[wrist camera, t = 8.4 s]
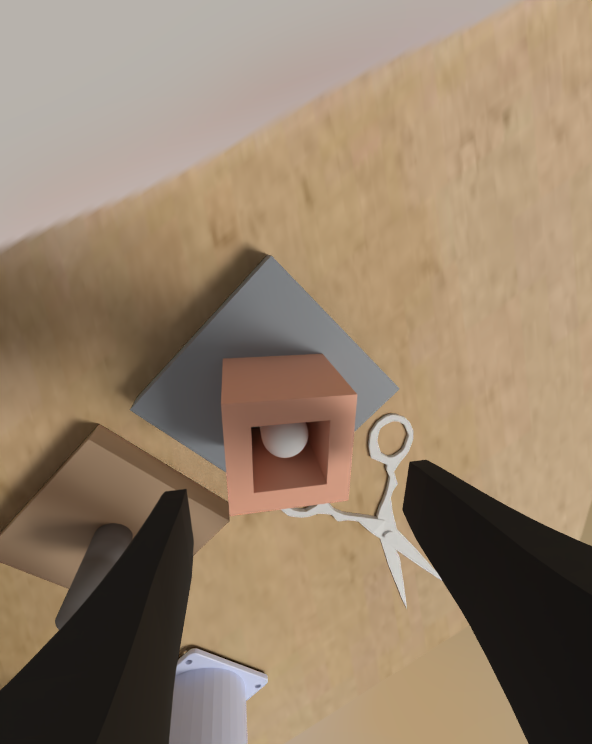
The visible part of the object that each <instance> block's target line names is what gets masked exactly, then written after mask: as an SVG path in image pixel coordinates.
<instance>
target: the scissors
mask: <svg viewBox="0 0 592 744" xmlns="http://www.w3.org/2000/svg"><path fill="white" fill-rule="evenodd" d="M392 421H398V422H401V423H402V424H403V425H404V426H405V429H406V431H407V437H406V440H405V442H404V445H403V447H402V448H401V450H399V451H398V452H396V453H395V454H393V455H388V456H387V455H385V454H383V453H382V452H380V449H379V445H378V442H377V439H378V434H379V430H380V429H381V427H383V426H384V425H386V424H388V423H390V422H392ZM412 441H413V429H412V427H411V424H410V422H409V421H408V420H407V419H406V418H405V417H404V416H401V415H398V414H392V413H390V414H387V415H384V416H383V417H381V418H380V419H379V420H377V421H376V423H375V424H374V426H373V427H372V429H371V430H370V432H369V441H368V448H369V453H370V457H371V458H373V459H375V460H377V461H380V462H382V463H384V464H386V466H385V468H386V470H387V473H388V475H389V477H388V482H387V486H386V490H385V493H384V496H383V498H382V500H381V502H380V504H379V507H378V510H377V513H376V516H371V515H364V514H357V513H348V512H343V511H340V510H337V509H335V508H333V507H332V506H331V505H330V503H326V504H318V505H311V506H309V507H307V508H305V509H304V508H288V509H281V510H282V511H283V512H284V513H286V514H287V515H288V516H293V517H309V516H312V515H315V514H332V515H333V517H334V518H335V519H336V520H337V521H344V520H352V521H359V522H360V523H361V524H362V525H363V526H364V527H365V528H366V529H367V530H369V531H370V532H371V533H372V534H374V535H375V536H377V537H379V538H380V540H381V543H382V546H383V549H384V552H385V556H386V559H387V562H388V565H389V567H390V570H391V573H392V575H393V577H394V580H395V582H396V585H397V587H398V590H399V592H400V595H401V598H402V600H403V602H404V604H405V606H406V608H407V605H406V598H405V590H404V583H403V577H402V571H401V563H400V558H399V555H398V553H397V551H399V552H400V553H402V554H403V555H405V556H406V557H407V558H409V559H410V560H412V561H413V562H415V563H416V564H417V565H419V566H420V567H422V568H424V569H425V570H427V571H428V572H430V573H431V574H433V575H434V576H436V577H437V578H439V579H440V580H442V579H441V578H440V576H439V575H438V573H437V572H436V571H435V570H434V569H433V567H432V566H431V565H430V564H429V563H428V562H427V561H426V559H425V558H424V557H423V556H422V555H421V554H420V553H419V552H418V550H417V549H416V548H415V547H414V546H413V545H412V544H411V543H410V542H409V541H408V540H407V539H406V538H405V537H404V536H403V535H402V534H401V533H400V532H399V531H398V530H397V529H396V523H395V520H394V516H393V511H392V503H391V495H392V492H393V490H394V489H395V487H396V486H397V484H398V483H397V480H396V477H395V474H394V471H395V469H396V468H397V466H398V465H399V463H400V462H401V460H402V459H403V458H404V457H405V456H406V455H407V453H408V451H409V449H410V446H411V444H412ZM396 550H397V551H396Z"/></svg>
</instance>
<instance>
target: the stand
mask: <svg viewBox="0 0 592 744" xmlns="http://www.w3.org/2000/svg"><path fill="white" fill-rule="evenodd" d="M181 489H187V495H188V502H189V509H190V517H191V524H192V531H193V538H194V548H193V556H194V555H195V554H196V553H197V552H198V551H199V550H200V549H201V548H202V547H203V546H204V545H205V544H206V543H207V542H208V541H209V540H210V539H211V538H212V537H213V536H214V535H215V534H217V533H218V532H219V531H220V530H221V529H222V528H223V527H224V526H225V525H226V524H227V523H228V522H229V503H228V502H227V501H225V500H223V499H222V498H220V497H219V496H217V495H215V494H214V493H212V492H210V491H209V490H207V489H205V488H204V487H202V486H200V485H199V484H197V483H195V482H194V481H192V480H191V479H189V478H187V477H186V476H184V475H182V474H181V473H179V472H177V471H176V470H174V469H172V468H171V467H169V466H167V465H166V464H164V463H163V462H161V461H159V460H158V459H156V458H154V457H153V456H151V455H149V454H148V453H146V452H144V451H143V450H141V449H139V448H138V447H136V446H135V445H133V444H131V443H130V442H128V441H126V440H125V439H123V438H121V437H120V436H118V435H116V434H115V433H113V432H111V431H110V430H108V429H107V428H105V427H103V426H102V425H100V424H99V425H98V426H97V427H96V428H95V429H94V430H93V432H92V433H91V434H90V435H89V436H88V437H87V438H86V439H85V440H84V441H83V443H82V444H81V445H80V446H79V447H78V448H77V449H76V450H75V451H74V452H73V454H72V455H71V456H70V457H69V458H68V459H67V460H66V461H65V462H64V464H63V465H62V466H61V467H60V468H59V469H58V470H57V471H56V472H55V473H54V475H53V476H52V477H51V478H50V479H49V480H48V481H47V482H46V483H45V484H44V486H43V487H42V488H41V489H40V490H39V491H38V492H37V493H36V494H35V495H34V497H33V498H32V499H31V500H30V501H29V502H28V503H27V504H26V505H25V506H24V508H23V509H22V510H21V511H20V512H19V513H18V514H17V515H16V516H15V517H14V519H13V520H12V521H11V522H10V523H9V524H8V525H7V526H6V527H5V529H4V530H3V531H2V532H1V533H0V562H1V563H3V564H6V565H8V566H11V567H14V568H16V569H19V570H21V571H24V572H26V573H29V574H32V575H34V576H37V577H39V578H42V579H45V580H47V581H50V582H52V583H55V584H57V585H60V586H63V587H65V588H68V589H69V590H68V593H67V595H66V597H65V599H64V601H63V604H62V606H61V608H60V610H59V612H58V615H57V617H56V620H55V624H56V626H57V628H58V629H59V630H60V629H61V628H62V627H63V626H64V624H65V623H66V622H67V621H68V620H69V619H70V618H71V617H72V615H73V614H74V613H75V612H76V611H77V610H78V609H79V607H80V606H81V605H82V604H83V603H84V602H85V600H86V599H87V598H88V597H89V596H90V594H91V593H92V592H93V591H94V590H95V588H96V587H97V586H98V585H99V583H100V582H101V581H102V580H103V578H104V577H105V576H106V574H107V573H108V572H109V571H110V569H111V568H112V567H113V566H114V564H115V563H116V562H117V560H118V559H119V558H120V556H121V555H122V554H123V552H124V551H125V550H126V548H127V547H128V545H129V544H130V542H131V541H132V540H133V538H134V537H135V535H136V534H137V533H138V531H139V530H140V528H141V527H142V525H143V524H144V522H145V521H146V519H147V518H148V516H149V515H150V513H151V512H152V510H153V508H154V507H155V505H156V504H157V502H158V500H159V499H160V497H161V495H162V494H163V493H164V492H165V491H173V490H181Z"/></svg>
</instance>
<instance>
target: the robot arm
mask: <svg viewBox="0 0 592 744" xmlns="http://www.w3.org/2000/svg"><path fill="white" fill-rule="evenodd" d="M402 510H403V512H404V515H405V517H406V519H407V521H408V523H409V526H410V528H411V530H412V532H413V534H414V536H415V538H416V540H417V541H418V543H419V545H420V546H421V548H422V549H423V551H424V553H425V554H426V556H427V557H428V559H429V561H430V562H431V564H432V565H433V567H434V568H435V570H436V572H437V573H438V575H439V576H440V578H441V579H442V581H443V582H444V584H445V586H446V587H447V589H448V590H449V592H450V593H451V595H452V597H453V598H454V600H455V601H456V603H457V604H458V606H459V608H460V609H461V611H462V613H463V614H464V616H465V618H466V619H467V621H468V623H469V624H470V626H471V628H472V630H473V632H474V634H475V636H476V638H477V640H478V642H479V643H480V645H481V647H482V649H483V651H484V653H485V655H486V657H487V659H488V660H489V663H490V665H491V667H492V669H493V671H494V673H495V675H496V677H497V679H498V681H499V682H500V685H501V687H502V689H503V691H504V693H505V695H506V697H507V699H508V701H509V703H510V705H511V707H512V709H513V711H514V713H515V716H516V718H517V719H518V722H519V724H520V726H521V728H522V730H523V733H524V735H525V737H526V739H527V741H528V743H529V744H592V546H590V545H587V544H585V543H583V542H580V541H578V540H576V539H573V538H571V537H569V536H567V535H565V534H563V533H560V532H558V531H556V530H554V529H552V528H550V527H547V526H545V525H543V524H541V523H539V522H537V521H535V520H533V519H531V518H529V517H527V516H525V515H523V514H521V513H520V512H518V511H516V510H514V509H512V508H510V507H508V506H506V505H505V504H503V503H501V502H499V501H497V500H495V499H494V498H492V497H490V496H488V495H487V494H485V493H483V492H481V491H480V490H478V489H476V488H475V487H473V486H471V485H470V484H468V483H466V482H464V481H463V480H461V479H459V478H458V477H456V476H454V475H453V474H451V473H449V472H447V471H446V470H444V469H442V468H441V467H439V466H437V465H435V464H433V463H431V462H429V461H428V460H421V461H413V462H410V463H409V469H408V476H407V483H406V489H405V496H404V503H403V509H402ZM193 548H194V538H193V531H192V524H191V517H190V509H189V502H188V495H187V489H181V490H173V491H165V492H164V493H163V494H162V495H161V497H160V499H159V500H158V502H157V504H156V505H155V507H154V508H153V510H152V512H151V513H150V515H149V516H148V518H147V519H146V521H145V522H144V524H143V525H142V527H141V528H140V530H139V531H138V533H137V534H136V535H135V537H134V538H133V540H132V541H131V542H130V544H129V545H128V547H127V548H126V550H125V551H124V552H123V554H122V555H121V556H120V558H119V559H118V560H117V562H116V563H115V564H114V566H113V567H112V568H111V569H110V571H109V572H108V573H107V574H106V576H105V577H104V578H103V580H102V581H101V582H100V583H99V585H98V586H97V587H96V588H95V590H94V591H93V592H92V593H91V594H90V596H89V597H88V598H87V599H86V600H85V602H84V603H83V604H82V605H81V606H80V607H79V609H78V610H77V611H76V612H75V613H74V614H73V615H72V617H71V618H70V619H69V620H68V621H67V622H66V623H65V624H64V626H63V627H62V628H61V629H60V630H59V631H58V632H57V633H56V634H55V635H54V636H53V637H52V638H51V639H50V641H49V642H48V643H47V644H46V645H45V646H44V647H43V648H42V649H41V650H40V651H39V652H38V653H37V654H36V655H35V656H34V657H33V658H32V659H31V660H30V662H29V663H28V664H27V665H26V666H25V667H24V668H23V669H22V670H21V671H20V672H19V673H18V674H17V675H16V676H15V677H14V678H13V679H12V680H11V681H10V682H9V683H8V684H7V685H5V686H4V687H3V688H2V689H1V690H0V744H248V740H247V715H246V701H247V700H248V699H249V698H250V697H252V696H253V695H254V694H255V693H256V692H257V691H259V690H260V689H261V688H262V687H263V686H264V685H266V684H267V682H268V676H267V675H266V674H264V673H261V672H259V671H256V670H253V669H251V668H248V667H245V666H243V665H240V664H237V663H235V662H232V661H229V660H227V659H224V658H221V657H219V656H216V655H213V654H211V653H208V652H205V651H203V650H200V649H197V648H193V649H190V650H189V651H188V652H186V653H185V654H184V655H183V656H182V657H181V658H180V659H179V660H178V656H179V650H180V644H181V638H182V632H183V626H184V620H185V614H186V608H187V602H188V596H189V590H190V584H191V578H192V565H193Z"/></svg>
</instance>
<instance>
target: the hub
mask: <svg viewBox="0 0 592 744" xmlns="http://www.w3.org/2000/svg"><path fill="white" fill-rule="evenodd" d="M306 354H323V355H324V356H325V357H326V358H327V359H328V361H329V362H330V363H331V364H332V365H333V366H334V368H335V369H336V370H337V371H338V372H339V373H340V375H341V376H342V377H343V378H344V379H345V380H346V382H347V383H348V384H349V385H350V386H351V388H352V389H353V390H354V391H355V392H356V393H357V405H356V417H355V428H354V432H355V431H356V430H357V429H358V428H359V427H360V426H361V425H362V424H363V423H364V422H365V421H366V420H367V419H368V418H369V417H371V416H372V415H373V414H374V413H375V412H376V411H377V410H378V409H379V408H380V407H381V406H382V405H383V404H384V403H385V402H386V401H387V400H389V399H390V398H391V397H392V396H393V395H394V394H395V393H396V392H397V391H398V390H399V388H398V387H397V385H396V384H395V383H394V382H393V381H392V380H391V379H390V378H389V377H388V376H387V375H386V374H385V373H384V372H383V371H382V370H381V369H380V368H379V367H378V366H377V365H376V364H375V363H374V362H373V361H372V360H371V358H370V357H369V356H368V355H367V354H366V353H365V352H364V351H363V350H362V349H361V348H360V347H359V346H358V345H357V344H356V343H355V342H354V341H353V340H352V339H351V338H350V337H349V336H348V335H347V334H346V333H345V332H344V330H343V329H342V328H341V327H340V326H339V325H338V324H337V323H336V322H335V321H334V320H333V319H332V318H331V317H330V316H329V315H328V314H327V313H326V312H325V311H324V310H323V309H322V308H321V307H320V306H319V305H318V304H317V302H316V301H315V300H314V299H313V298H312V297H311V296H310V295H309V294H308V293H307V292H306V291H305V290H304V289H303V288H302V287H301V286H300V285H299V284H298V283H297V282H296V281H295V280H294V279H293V278H292V277H291V276H290V274H289V273H288V272H287V271H286V270H285V269H284V268H283V267H282V266H281V265H280V264H279V263H278V262H277V261H276V260H275V259H274V258H273V257H272V256H271V255H267V256H266V257H265V258H264V259H263V260H262V261H261V262H260V263H259V265H258V266H257V267H256V268H255V269H254V270H253V271H252V272H251V273H250V274H249V276H248V277H247V278H246V279H245V280H244V281H243V282H242V283H241V284H240V285H239V286H238V288H237V289H236V290H235V291H234V292H233V293H232V294H231V295H230V296H229V297H228V298H227V300H226V301H225V302H224V303H223V304H222V305H221V306H220V307H219V308H218V309H217V310H216V312H215V313H214V314H213V315H212V316H211V317H210V318H209V319H208V320H207V321H206V323H205V324H204V325H203V326H202V327H201V328H200V329H199V330H198V331H197V332H196V333H195V335H194V336H193V337H192V338H191V339H190V340H189V341H188V342H187V343H186V344H185V345H184V347H183V348H182V349H181V350H180V351H179V352H178V353H177V354H176V355H175V356H174V357H173V359H172V360H171V361H170V362H169V363H168V364H167V365H166V366H165V367H164V368H163V369H162V371H161V372H160V373H159V374H158V375H157V376H156V377H155V378H154V379H153V380H152V382H151V383H150V384H149V385H148V386H147V387H146V388H145V389H144V390H143V391H142V392H141V394H140V395H139V396H138V397H137V398H136V400H135V402H134V404H133V405H132V407H131V409H130V410H131V411H132V412H134V413H135V414H137V415H138V416H140V417H141V418H143V419H144V420H146V421H148V422H149V423H151V424H152V425H154V426H155V427H157V428H158V429H160V430H161V431H163V432H165V433H166V434H168V435H169V436H171V437H172V438H174V439H175V440H177V441H178V442H180V443H181V444H183V445H185V446H186V447H188V448H189V449H191V450H192V451H194V452H195V453H197V454H198V455H200V456H201V457H203V458H205V459H206V460H208V461H209V462H211V463H212V464H214V465H215V466H217V467H218V468H220V469H222V470H223V471H225V472H226V462H225V450H224V437H223V424H222V411H221V392H222V367H223V359H225V358H245V357H265V356H286V355H306ZM251 428H260V431H261V437H262V441H263V444H264V446H265V447H266V449H267V450H268V451H269V452H270V453H271V454H273V455H275V456H277V457H281V458H289V457H293V456H295V455H297V454H298V453H299V452H301V451H302V450H303V448H304V447H305V445H306V443H307V440H308V428H307V425H306V422H303V423H292V424H280V425H268V426H257V427H251Z"/></svg>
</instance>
